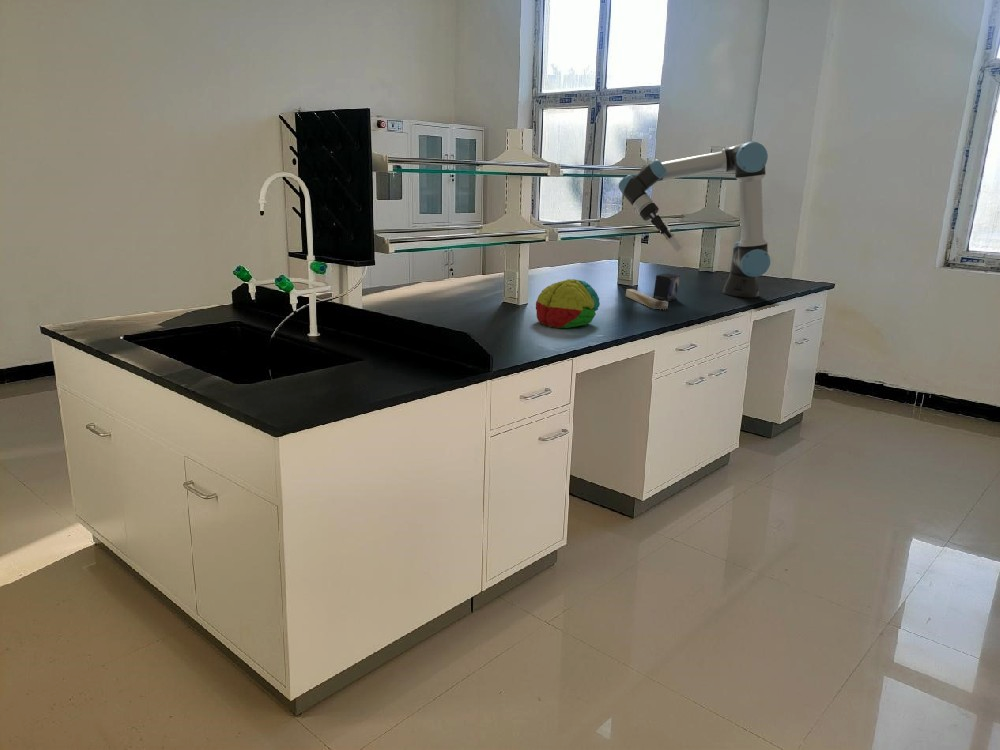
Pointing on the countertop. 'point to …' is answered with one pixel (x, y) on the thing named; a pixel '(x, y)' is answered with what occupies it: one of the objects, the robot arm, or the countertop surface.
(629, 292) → the bar
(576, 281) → the brain model
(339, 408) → the countertop surface
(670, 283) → the small box
